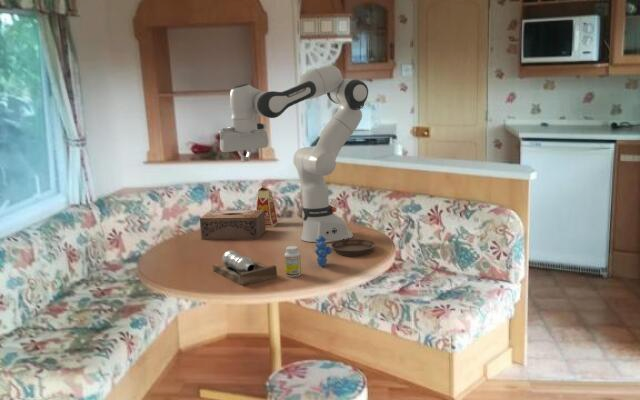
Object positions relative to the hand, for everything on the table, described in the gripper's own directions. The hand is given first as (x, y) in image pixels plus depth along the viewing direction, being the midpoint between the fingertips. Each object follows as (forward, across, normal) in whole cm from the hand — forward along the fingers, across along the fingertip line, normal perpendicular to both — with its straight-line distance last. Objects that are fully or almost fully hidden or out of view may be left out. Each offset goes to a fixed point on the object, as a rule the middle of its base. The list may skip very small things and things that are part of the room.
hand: (245, 161), depth 248 cm
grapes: (+37, +10, -37) cm, 53 cm away
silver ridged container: (+34, -16, -11) cm, 39 cm away
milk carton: (+37, +28, +35) cm, 58 cm away
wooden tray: (+37, -16, -24) cm, 47 cm away
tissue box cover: (+38, +7, +29) cm, 48 cm away
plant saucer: (+38, +30, -29) cm, 56 cm away
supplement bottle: (+37, -4, -37) cm, 53 cm away
